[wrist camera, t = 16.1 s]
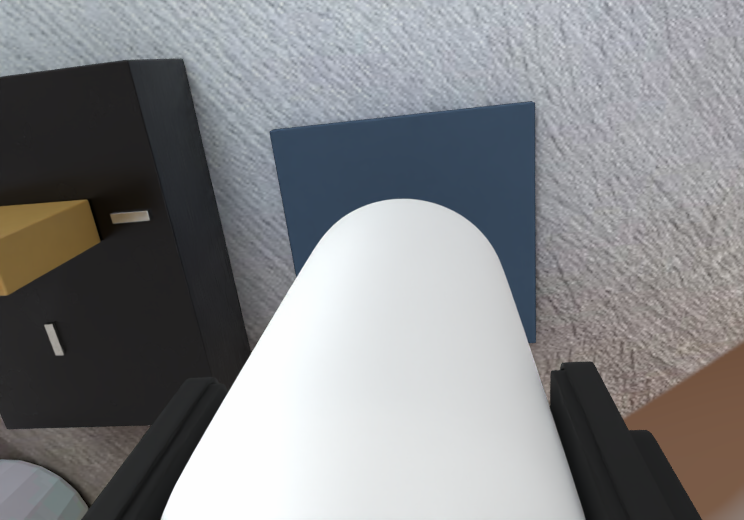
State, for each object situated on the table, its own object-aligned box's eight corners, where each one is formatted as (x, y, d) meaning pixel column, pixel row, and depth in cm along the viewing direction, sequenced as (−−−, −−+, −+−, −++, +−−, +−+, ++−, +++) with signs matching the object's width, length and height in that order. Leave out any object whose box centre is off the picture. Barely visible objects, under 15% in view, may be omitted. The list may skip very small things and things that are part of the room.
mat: (272, 129, 21) (269, 131, 20) (532, 101, 19) (535, 102, 19) (312, 347, 24) (309, 353, 24) (534, 337, 23) (536, 343, 22)
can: (380, 402, 19) (309, 898, 8) (268, 263, 17) (-20, 639, 6) (542, 316, 17) (750, 813, 6) (432, 152, 15) (437, 410, 4)
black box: (-77, 83, 21) (-188, 90, 18) (180, 48, 20) (120, 47, 16) (42, 377, 27) (-24, 432, 23) (254, 368, 25) (222, 426, 21)
